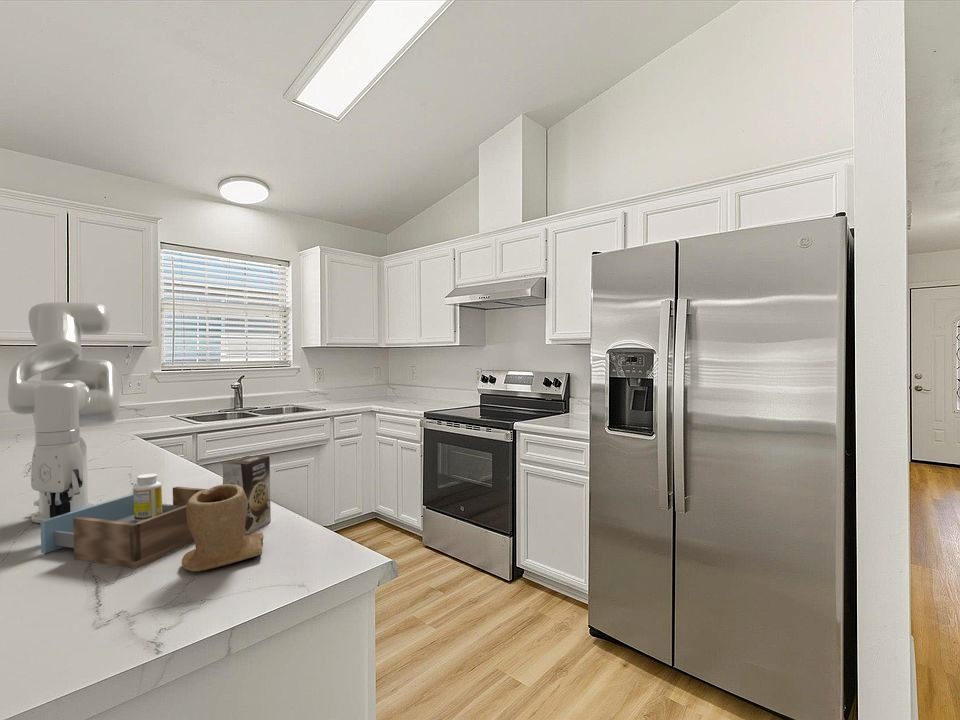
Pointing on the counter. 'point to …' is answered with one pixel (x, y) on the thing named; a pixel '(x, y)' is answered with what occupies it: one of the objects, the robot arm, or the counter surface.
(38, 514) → the robot arm
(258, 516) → the coffee box
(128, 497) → the tray
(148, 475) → the supplement bottle
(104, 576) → the counter surface
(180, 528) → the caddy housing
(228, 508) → the stone cup
